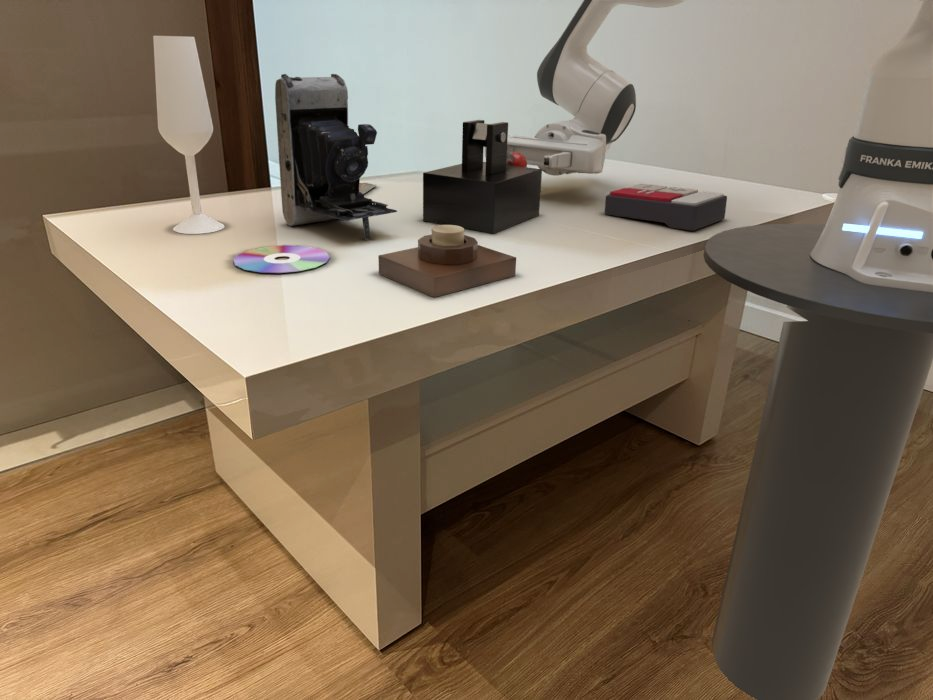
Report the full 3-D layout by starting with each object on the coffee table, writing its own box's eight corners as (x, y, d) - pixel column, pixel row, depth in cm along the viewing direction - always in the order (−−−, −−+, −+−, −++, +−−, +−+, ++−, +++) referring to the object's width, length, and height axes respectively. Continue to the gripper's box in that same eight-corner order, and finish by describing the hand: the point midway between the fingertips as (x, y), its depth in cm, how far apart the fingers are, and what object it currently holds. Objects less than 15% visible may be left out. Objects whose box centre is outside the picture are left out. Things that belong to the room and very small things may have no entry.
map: (379, 188, 127) (379, 182, 126) (338, 206, 108) (338, 200, 107) (353, 186, 127) (352, 181, 127) (307, 204, 109) (307, 198, 108)
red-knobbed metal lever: (507, 177, 113) (513, 156, 113) (526, 180, 111) (533, 158, 111) (466, 142, 100) (473, 118, 100) (488, 144, 99) (495, 120, 99)
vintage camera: (340, 251, 89) (338, 84, 81) (279, 223, 99) (272, 72, 91) (400, 240, 96) (404, 84, 87) (337, 214, 106) (335, 72, 97)
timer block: (458, 255, 87) (458, 224, 86) (515, 275, 81) (517, 241, 79) (378, 274, 80) (377, 239, 78) (434, 297, 73) (434, 260, 72)
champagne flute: (207, 235, 93) (182, 37, 83) (162, 231, 94) (132, 35, 84) (234, 223, 99) (213, 37, 89) (191, 220, 100) (166, 35, 90)
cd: (331, 245, 90) (331, 244, 90) (328, 272, 80) (328, 271, 80) (240, 246, 88) (240, 245, 88) (225, 274, 78) (225, 273, 78)
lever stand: (473, 204, 114) (475, 115, 108) (539, 215, 108) (545, 121, 103) (422, 221, 103) (422, 122, 98) (493, 233, 97) (497, 130, 92)
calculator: (640, 181, 116) (729, 190, 107) (638, 207, 118) (725, 218, 108) (604, 190, 109) (696, 201, 99) (603, 218, 110) (693, 231, 101)
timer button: (449, 238, 81) (449, 223, 80) (470, 244, 79) (470, 229, 78) (425, 243, 79) (425, 227, 78) (445, 250, 76) (446, 234, 76)
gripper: (507, 124, 126) (466, 131, 115) (615, 135, 116) (581, 144, 106) (505, 160, 129) (465, 170, 118) (611, 173, 119) (577, 186, 108)
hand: (521, 158), depth 112 cm, fingers open, 8 cm apart
